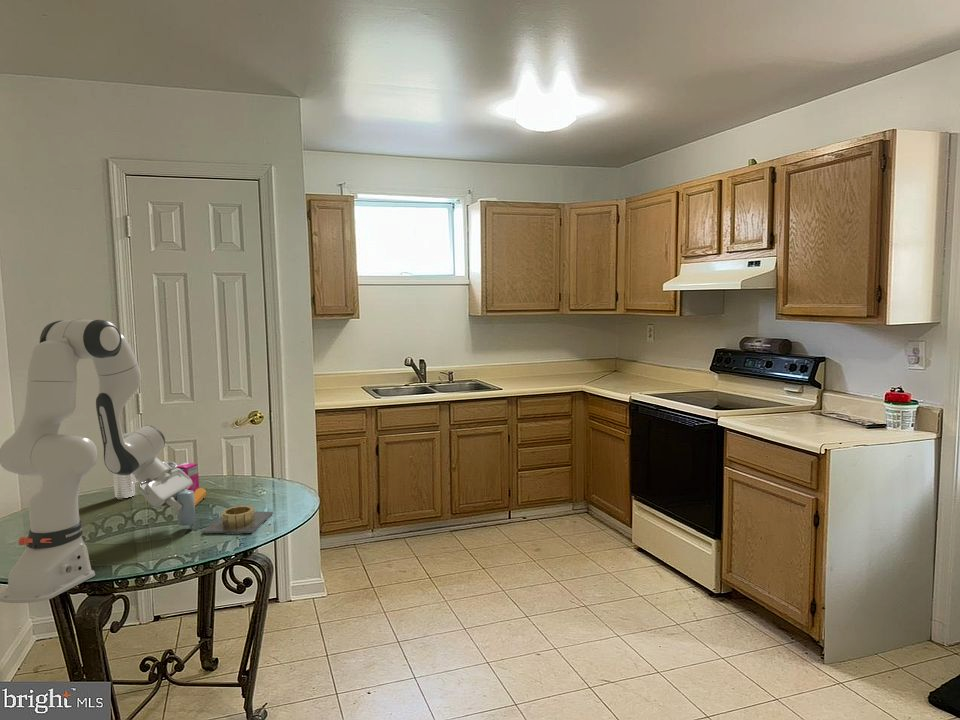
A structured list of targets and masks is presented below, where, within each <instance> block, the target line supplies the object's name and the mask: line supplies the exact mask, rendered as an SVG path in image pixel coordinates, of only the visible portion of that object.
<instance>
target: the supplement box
mask: <svg viewBox="0 0 960 720" xmlns="http://www.w3.org/2000/svg"><path fill="white" fill-rule="evenodd" d="M177 465H178V464H177ZM177 468H179V469H181V470H182V471H183V472H184V473H185V474H186V475H187V476H188V477H189V478H190V479H191V480H192V482H193V484H192V485H191V486H190V488H189V489H188V490H192V491H194V492H195V491H196V489H198V488H200V482H199V471H198V463H194V462H183V463H181V464H179V465H178V466H177Z"/></svg>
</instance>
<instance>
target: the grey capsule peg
mask: <svg viewBox="0 0 960 720" xmlns="http://www.w3.org/2000/svg"><path fill="white" fill-rule="evenodd" d="M176 501H177V502H181V503H182V504H183V505H184V506H183V507H182V509H180V510H177V519H178V520H177V521H178V525H179V526H180V527H181V526H182V527H184V526H185V527H186V526H191V525H194V524H196V519H197V518H196V508H195V507H196V506H195V503H194V491H192V490H186V491H181V492H178V493H177V496H176Z"/></svg>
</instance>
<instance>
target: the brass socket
mask: <svg viewBox="0 0 960 720" xmlns="http://www.w3.org/2000/svg"><path fill="white" fill-rule="evenodd" d="M255 512H256V511H255V508H254V506H250V505H238V506H232V507H228V508H225V509H224V510H222V511H221V516H222V523H223V525H225V526H241V525H246V524H248V523H251V522H253V521H254V520H255Z"/></svg>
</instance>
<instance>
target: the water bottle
mask: <svg viewBox="0 0 960 720" xmlns="http://www.w3.org/2000/svg"><path fill="white" fill-rule="evenodd" d="M122 433H123V434H124V431H122ZM112 474H113V475H112V477H113V479H112V480H113V488H114V498H115V497H116V498H128V497H132V496H134V495H135V496H136V486H135V477H134V475H133V474H132V473H131V474H130V475H118V474H115V473H112ZM135 496H134V497H135ZM116 498H115V499H116ZM132 498H133V497H132Z"/></svg>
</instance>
